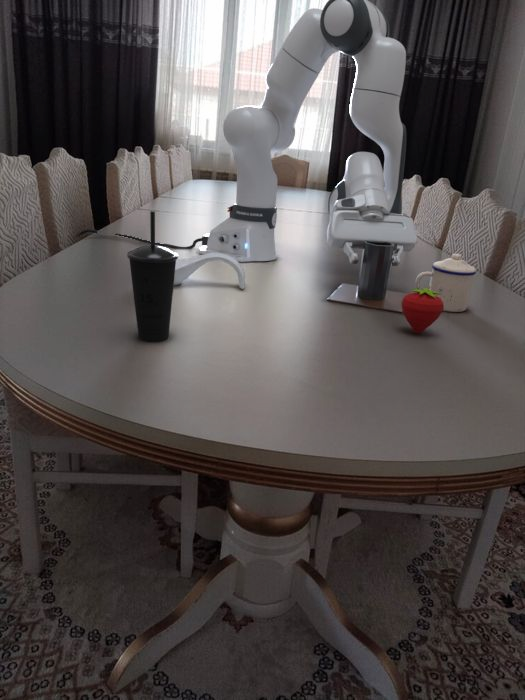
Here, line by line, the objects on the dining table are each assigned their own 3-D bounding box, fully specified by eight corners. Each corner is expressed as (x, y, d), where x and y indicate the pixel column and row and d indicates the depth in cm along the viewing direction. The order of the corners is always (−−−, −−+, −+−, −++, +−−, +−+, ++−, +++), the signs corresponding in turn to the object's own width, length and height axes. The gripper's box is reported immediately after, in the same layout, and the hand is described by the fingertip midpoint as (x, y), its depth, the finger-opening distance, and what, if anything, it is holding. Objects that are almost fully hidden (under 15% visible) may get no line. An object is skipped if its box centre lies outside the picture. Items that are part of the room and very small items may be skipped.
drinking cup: (132, 327, 88) (130, 206, 81) (178, 329, 89) (180, 210, 81) (125, 344, 81) (122, 213, 73) (175, 346, 82) (176, 216, 74)
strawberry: (394, 325, 100) (404, 274, 96) (434, 329, 99) (445, 279, 95) (398, 335, 94) (408, 282, 91) (440, 340, 94) (452, 286, 90)
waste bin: (354, 297, 115) (362, 243, 111) (359, 290, 121) (367, 239, 116) (383, 302, 113) (392, 247, 109) (387, 295, 119) (395, 242, 114)
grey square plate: (326, 300, 112) (327, 298, 112) (342, 284, 126) (342, 283, 126) (401, 313, 108) (402, 311, 107) (409, 295, 122) (409, 293, 122)
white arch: (134, 287, 111) (133, 253, 108) (145, 274, 122) (144, 243, 119) (244, 294, 112) (246, 261, 109) (245, 280, 123) (247, 250, 120)
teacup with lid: (461, 302, 119) (473, 252, 115) (472, 314, 110) (484, 260, 106) (408, 297, 120) (418, 247, 116) (415, 309, 111) (425, 255, 107)
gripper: (406, 223, 123) (414, 273, 118) (322, 217, 121) (326, 268, 115) (417, 206, 117) (426, 258, 112) (329, 200, 115) (334, 253, 110)
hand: (375, 263), depth 114 cm, fingers open, 8 cm apart
